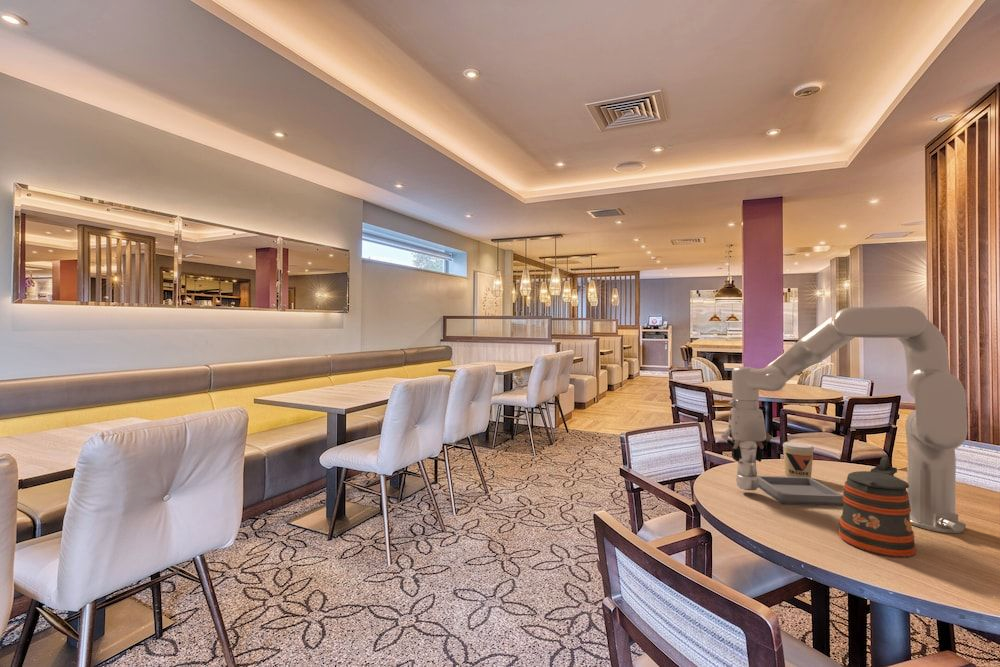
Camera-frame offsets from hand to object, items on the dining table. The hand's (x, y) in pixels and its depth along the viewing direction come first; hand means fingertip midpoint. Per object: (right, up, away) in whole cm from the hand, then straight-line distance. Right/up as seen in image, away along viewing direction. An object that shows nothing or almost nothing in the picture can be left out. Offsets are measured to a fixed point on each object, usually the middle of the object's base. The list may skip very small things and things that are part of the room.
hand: (746, 459), depth 146 cm
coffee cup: (+27, -11, +16) cm, 33 cm away
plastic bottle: (0, -10, 0) cm, 10 cm away
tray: (+15, -11, -1) cm, 19 cm away
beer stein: (+14, -11, -33) cm, 38 cm away
